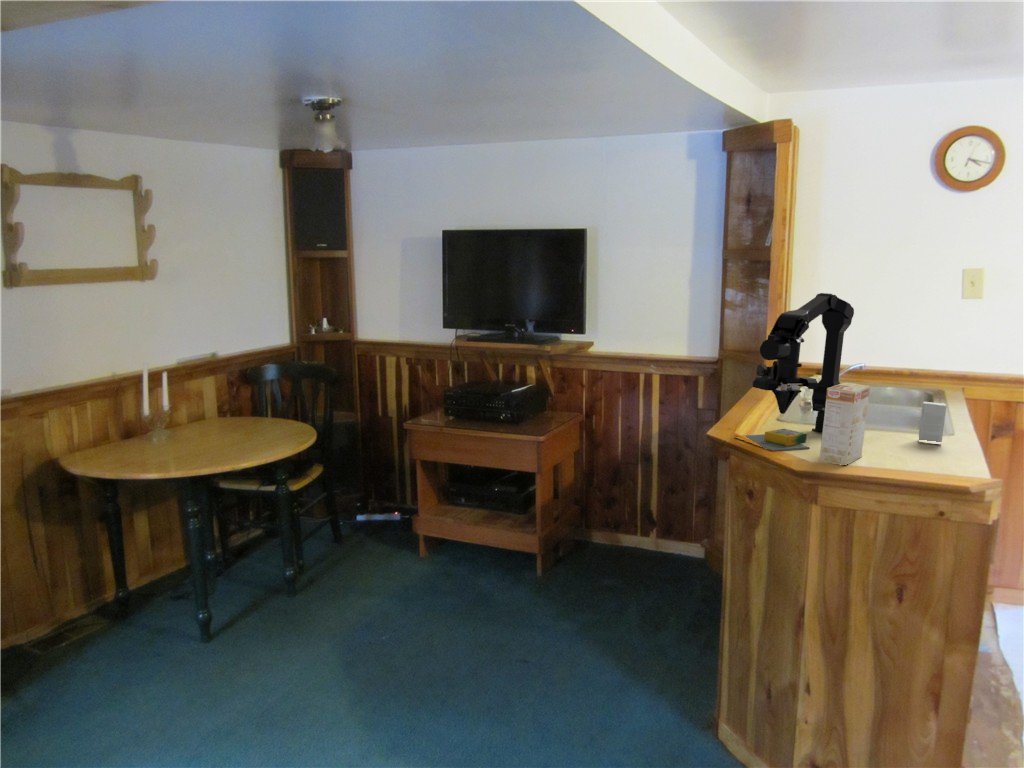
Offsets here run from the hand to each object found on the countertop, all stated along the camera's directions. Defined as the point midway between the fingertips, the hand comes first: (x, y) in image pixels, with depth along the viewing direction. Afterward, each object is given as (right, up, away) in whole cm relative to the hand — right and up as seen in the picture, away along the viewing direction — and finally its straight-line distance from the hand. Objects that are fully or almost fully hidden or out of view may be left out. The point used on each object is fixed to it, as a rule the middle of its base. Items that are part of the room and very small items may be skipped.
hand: (782, 413), depth 217 cm
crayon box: (+5, -6, +3) cm, 8 cm away
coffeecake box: (+10, -12, -14) cm, 21 cm away
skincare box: (+48, -9, +11) cm, 50 cm away
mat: (-3, -8, 0) cm, 9 cm away
